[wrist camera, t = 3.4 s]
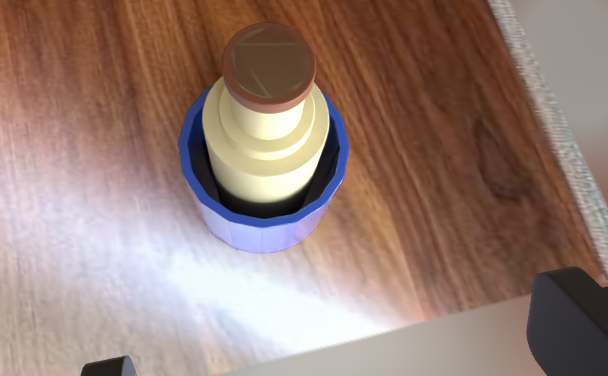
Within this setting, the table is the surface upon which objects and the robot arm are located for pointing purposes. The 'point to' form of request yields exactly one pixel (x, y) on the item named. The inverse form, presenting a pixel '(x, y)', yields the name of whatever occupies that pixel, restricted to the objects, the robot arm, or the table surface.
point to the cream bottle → (265, 122)
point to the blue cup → (252, 230)
